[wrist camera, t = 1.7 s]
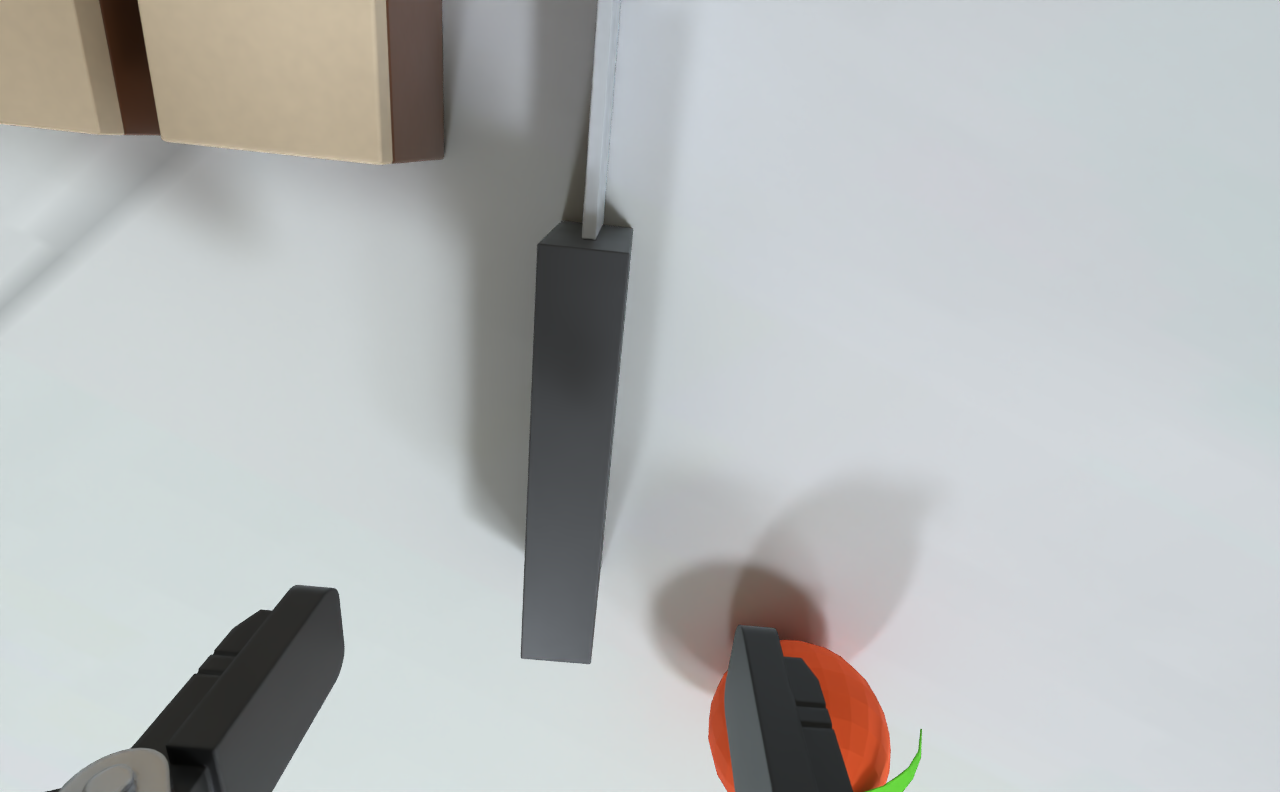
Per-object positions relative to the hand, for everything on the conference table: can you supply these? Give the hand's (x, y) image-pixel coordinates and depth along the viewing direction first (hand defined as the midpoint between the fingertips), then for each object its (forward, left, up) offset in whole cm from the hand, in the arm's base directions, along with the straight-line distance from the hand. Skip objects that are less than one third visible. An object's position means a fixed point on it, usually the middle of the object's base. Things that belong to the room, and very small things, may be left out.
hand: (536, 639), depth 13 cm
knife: (0, +4, -11) cm, 12 cm away
